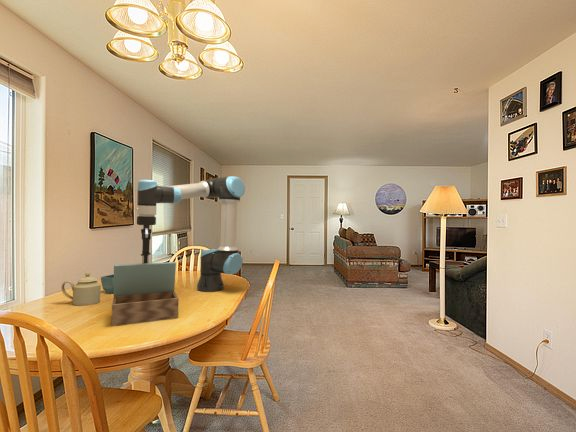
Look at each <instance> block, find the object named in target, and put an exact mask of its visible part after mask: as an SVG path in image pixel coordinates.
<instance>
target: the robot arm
mask: <svg viewBox="0 0 576 432" xmlns="http://www.w3.org/2000/svg"><path fill="white" fill-rule="evenodd" d="M245 188H246V186H245V184H244V181H243V180H242V179H241V177H238V176H235V175H232V176H230V175H229V176H221V177H216V178H210V179H207V180H201V181H199V182H197V183H196V182H195V183H194V182H193V183H186V184H177V185H167V186H163V185H158V183H157V181H156V180H152V179H140V180H138V183H137V188H136V189H137V190H136V192H137V195H136V196H137V199H136V201H137V207H135V211H136V214H137V217H136V224H137V226H142V229H141V230H140V231H141V232H140V233H141V240H142V247H141V248H142V249H141V250H142V251H141V254H140V256H141V264H143V263H150V255H151V253H150V244H151V243H150V241H151V238H152V237H151V235H152V229H151V228H150V226H155V225H157V218H156V215H157V204H173V205H174V204H178V203H180V202H181V201H182V200H185V199H193V198H199V197H201V198H204V199H205V198H216V199H217V198H218V199H219V200H218V201H219V202H220V203H221V210H220V211H221V212H220V213H221V216H220V218H221V219H220V242H219V243H220V246H219V247H218V248H212V249H203V250H201V252H200V258H199V259H200V273H199V274H200V276H199V279H198V282H197V285H196V286H197V287H196V290H197V291H199V292H205V293H206V292H210V293H211V292H217V291H221V290H223V289H225V288H224V286H225V284H224V281H223V278H222V274H226V275H235V274H237V273H238V272H239V271H240V270H241V268H242V266H243V262H244V261H243V257H242V255H241V254H240V253H239V248H238V247H237V229H238V228H237V225H238V224H237V221H238V204H239V203H240V202H241V198H242V197H243V196H244V194H245V192H246V191H245V190H246V189H245Z"/></svg>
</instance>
